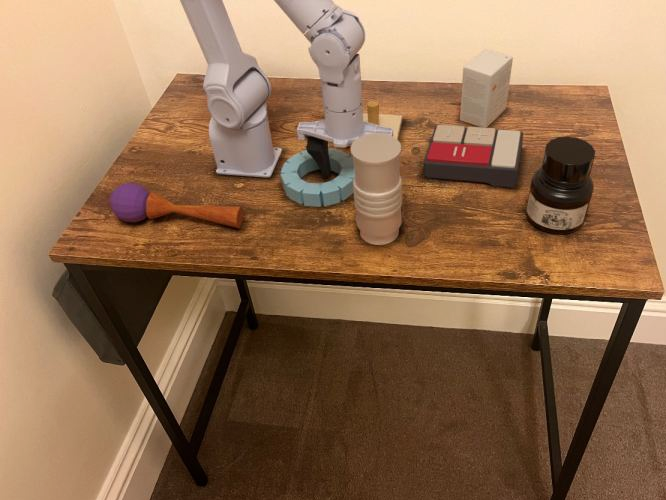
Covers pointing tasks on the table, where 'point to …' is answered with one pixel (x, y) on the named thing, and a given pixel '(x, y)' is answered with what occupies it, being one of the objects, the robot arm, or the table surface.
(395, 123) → the peg stand
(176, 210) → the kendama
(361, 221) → the ribbed beige cylinder
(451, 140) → the button keypad
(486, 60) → the small box
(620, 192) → the table surface
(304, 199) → the ring
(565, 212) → the ink bottle
